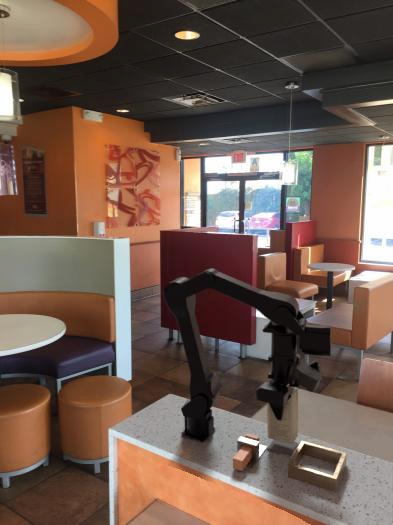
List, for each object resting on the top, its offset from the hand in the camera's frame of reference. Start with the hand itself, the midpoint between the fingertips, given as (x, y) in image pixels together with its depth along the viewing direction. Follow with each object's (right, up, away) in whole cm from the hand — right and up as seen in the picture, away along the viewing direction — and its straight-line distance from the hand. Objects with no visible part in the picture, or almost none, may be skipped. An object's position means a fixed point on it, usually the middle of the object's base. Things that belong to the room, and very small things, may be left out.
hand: (282, 415), depth 103 cm
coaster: (0, -8, +1) cm, 8 cm away
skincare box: (0, -6, +1) cm, 6 cm away
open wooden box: (+6, -9, -8) cm, 14 cm away
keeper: (-8, -9, -1) cm, 12 cm away
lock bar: (-9, -9, -3) cm, 13 cm away
